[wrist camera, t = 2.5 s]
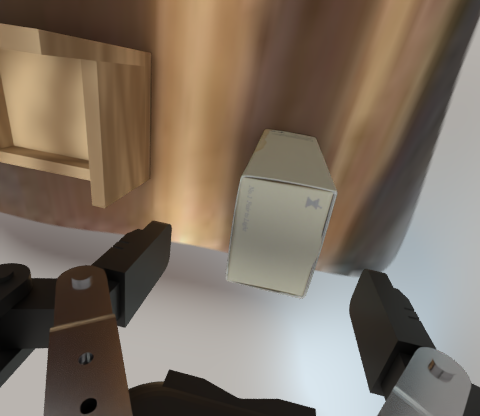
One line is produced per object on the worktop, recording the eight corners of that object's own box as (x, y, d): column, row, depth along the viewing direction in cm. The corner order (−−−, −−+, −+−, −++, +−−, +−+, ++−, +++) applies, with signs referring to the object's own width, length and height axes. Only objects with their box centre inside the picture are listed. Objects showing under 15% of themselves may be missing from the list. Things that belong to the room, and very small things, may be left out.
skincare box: (264, 127, 23) (237, 166, 12) (319, 137, 23) (342, 187, 12) (251, 198, 26) (220, 282, 15) (300, 208, 26) (305, 302, 15)
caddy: (151, 53, 23) (38, 29, 13) (149, 178, 27) (65, 234, 17) (-8, 28, 24) (-223, -11, 14) (15, 151, 28) (-136, 188, 18)
